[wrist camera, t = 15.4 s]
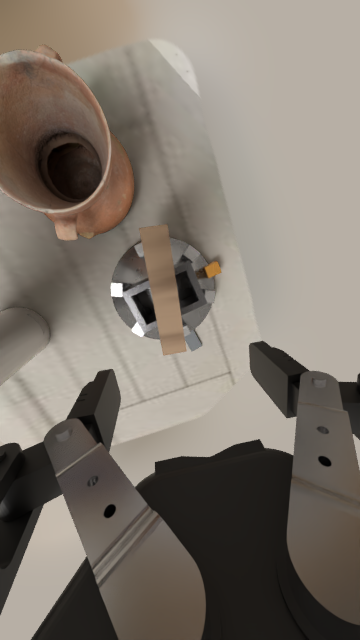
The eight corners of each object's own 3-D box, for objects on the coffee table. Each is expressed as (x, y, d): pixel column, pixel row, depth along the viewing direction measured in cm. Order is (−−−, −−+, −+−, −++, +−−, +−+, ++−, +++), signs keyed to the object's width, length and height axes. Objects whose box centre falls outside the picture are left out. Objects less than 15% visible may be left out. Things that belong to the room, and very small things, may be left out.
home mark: (191, 350, 43) (191, 351, 42) (182, 334, 42) (182, 335, 41) (201, 344, 43) (202, 345, 42) (192, 328, 41) (193, 329, 41)
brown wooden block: (139, 228, 22) (163, 355, 26) (167, 224, 22) (186, 351, 27) (142, 234, 28) (161, 335, 33) (164, 231, 29) (180, 331, 33)
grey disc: (142, 350, 41) (140, 370, 34) (93, 265, 36) (78, 268, 29) (231, 309, 41) (247, 320, 34) (196, 215, 35) (206, 206, 28)
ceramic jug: (136, 246, 36) (125, 243, 22) (46, 241, 34) (-26, 233, 20) (135, 116, 30) (120, 7, 17) (28, 101, 29) (-85, -34, 15)
